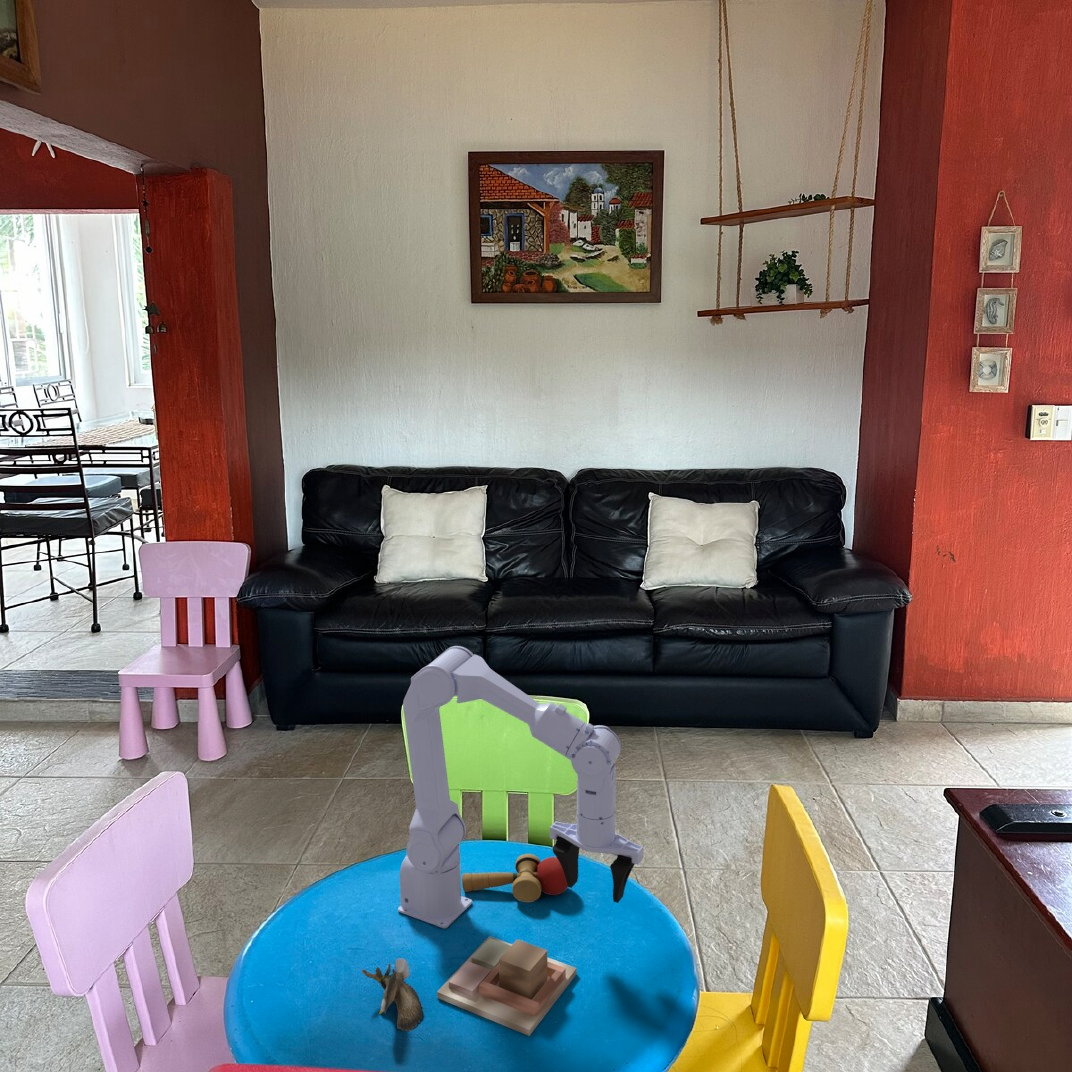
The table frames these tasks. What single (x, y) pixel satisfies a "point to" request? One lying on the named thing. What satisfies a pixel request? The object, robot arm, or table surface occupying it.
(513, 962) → the walnut block
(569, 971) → the puzzle board
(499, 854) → the table surface
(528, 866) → the kendama
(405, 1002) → the eagle figurine
